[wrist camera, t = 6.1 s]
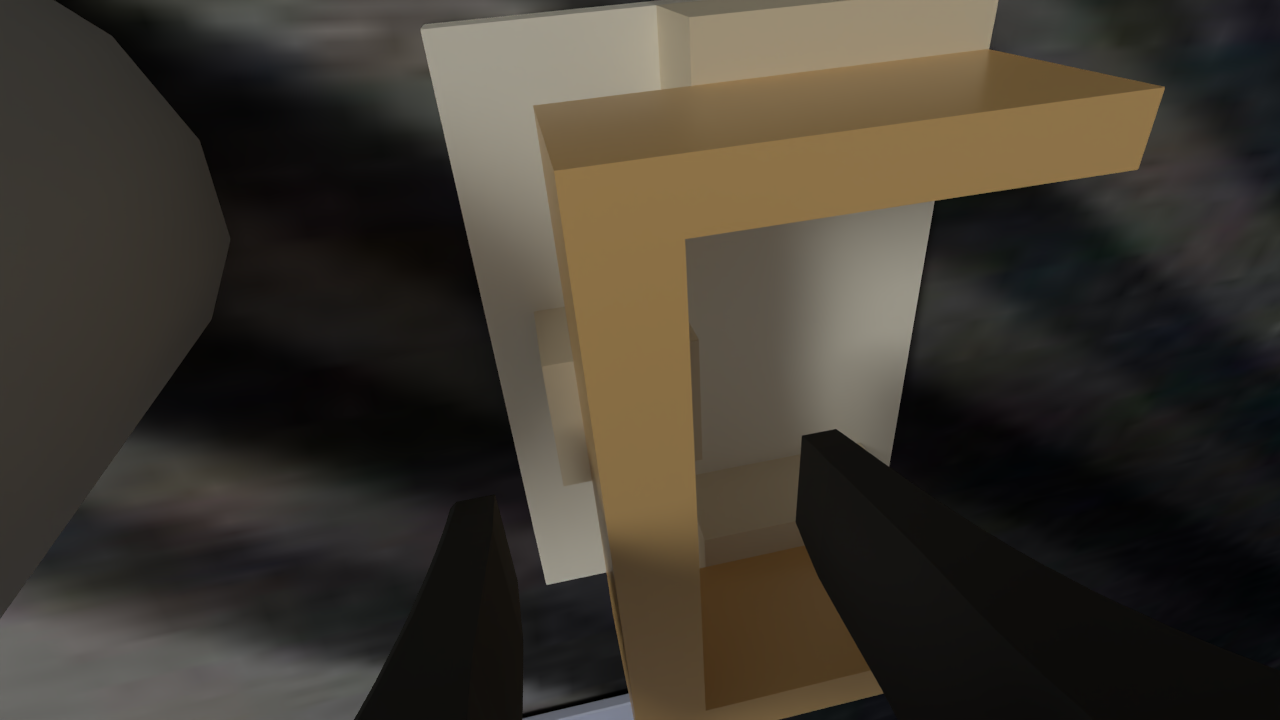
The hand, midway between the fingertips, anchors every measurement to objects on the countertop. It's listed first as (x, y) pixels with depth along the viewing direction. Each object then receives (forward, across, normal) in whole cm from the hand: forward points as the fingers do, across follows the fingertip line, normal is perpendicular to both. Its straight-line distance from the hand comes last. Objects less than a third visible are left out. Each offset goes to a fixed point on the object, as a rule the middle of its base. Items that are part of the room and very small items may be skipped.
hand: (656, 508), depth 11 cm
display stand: (+6, -2, 0) cm, 6 cm away
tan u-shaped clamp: (+3, -3, 0) cm, 4 cm away
